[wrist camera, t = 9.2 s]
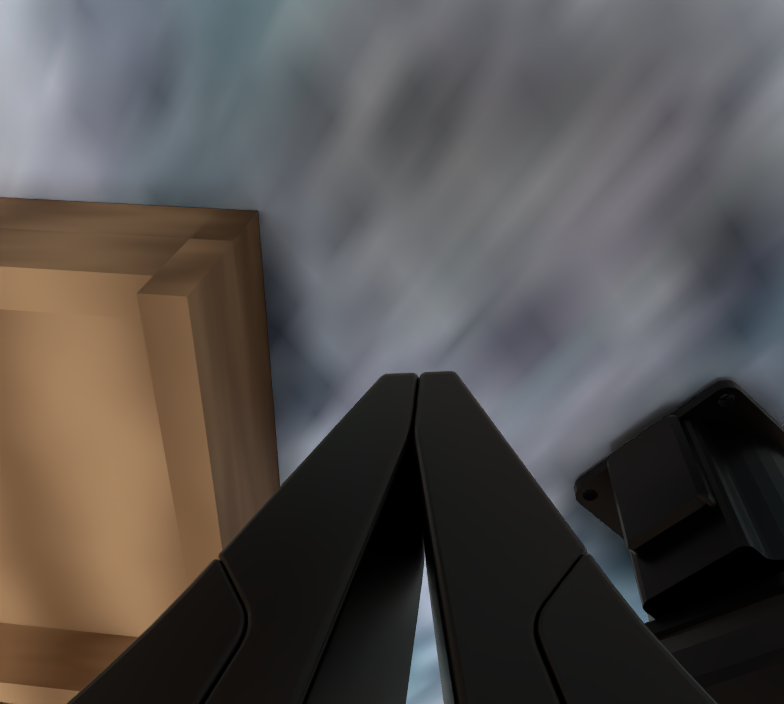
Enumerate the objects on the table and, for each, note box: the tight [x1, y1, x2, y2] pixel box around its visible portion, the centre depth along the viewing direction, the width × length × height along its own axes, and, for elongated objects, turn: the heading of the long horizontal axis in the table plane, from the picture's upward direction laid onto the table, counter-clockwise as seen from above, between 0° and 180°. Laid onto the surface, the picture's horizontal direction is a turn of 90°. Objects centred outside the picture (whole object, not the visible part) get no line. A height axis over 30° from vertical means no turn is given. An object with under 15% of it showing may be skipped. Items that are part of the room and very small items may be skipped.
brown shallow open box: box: [0, 197, 280, 704], centre depth 24 cm, size 16×18×6 cm
